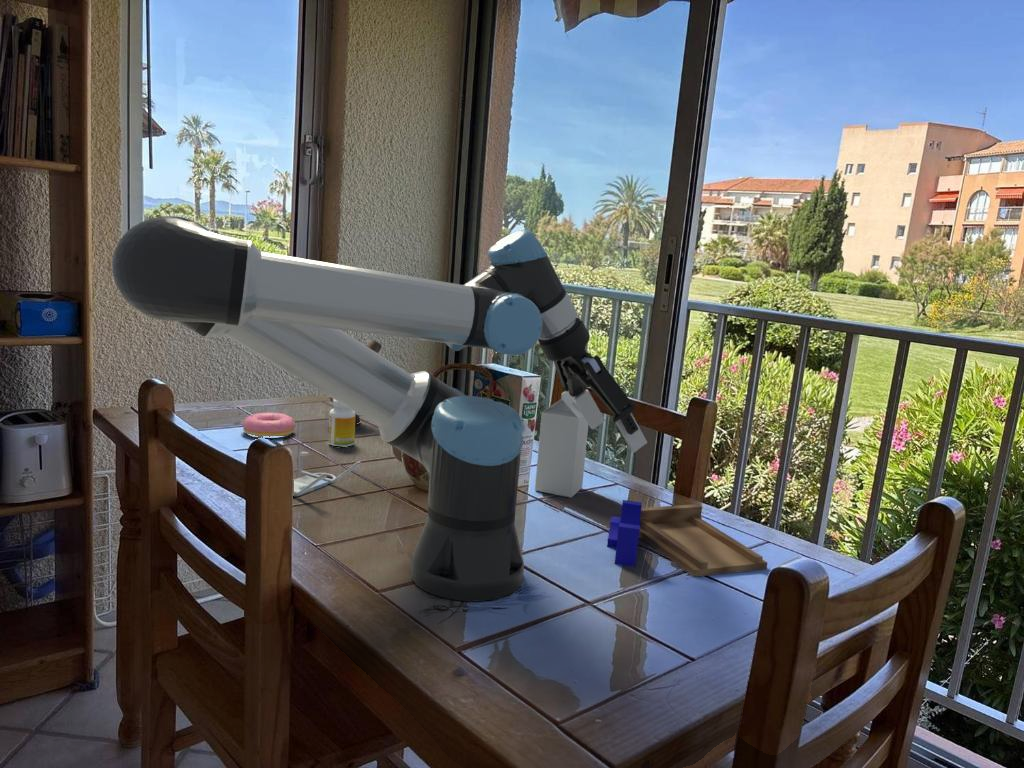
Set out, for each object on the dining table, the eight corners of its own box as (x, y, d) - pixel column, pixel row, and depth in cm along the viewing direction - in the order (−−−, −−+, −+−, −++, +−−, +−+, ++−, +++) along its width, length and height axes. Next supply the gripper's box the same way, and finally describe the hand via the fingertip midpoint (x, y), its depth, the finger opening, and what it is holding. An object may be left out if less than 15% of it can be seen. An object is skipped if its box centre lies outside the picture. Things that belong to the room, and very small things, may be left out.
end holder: (693, 576, 105) (696, 553, 104) (629, 528, 121) (631, 508, 121) (766, 568, 110) (769, 546, 109) (695, 523, 126) (697, 504, 126)
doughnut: (231, 433, 158) (231, 414, 158) (272, 425, 168) (272, 407, 167) (265, 444, 153) (266, 424, 152) (306, 434, 162) (306, 416, 161)
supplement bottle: (359, 444, 157) (361, 400, 155) (341, 449, 153) (343, 403, 151) (341, 439, 160) (343, 395, 158) (322, 444, 155) (324, 399, 154)
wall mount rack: (311, 472, 137) (312, 442, 136) (370, 488, 132) (372, 456, 131) (248, 495, 124) (248, 461, 122) (311, 513, 118) (313, 478, 117)
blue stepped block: (609, 533, 119) (613, 498, 118) (637, 538, 118) (641, 502, 117) (604, 563, 108) (608, 524, 107) (635, 568, 107) (639, 529, 106)
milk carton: (534, 491, 136) (543, 390, 133) (547, 481, 143) (555, 384, 139) (571, 498, 134) (581, 396, 130) (582, 488, 140) (592, 390, 137)
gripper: (616, 323, 101) (678, 442, 109) (544, 304, 124) (599, 404, 132) (574, 354, 100) (639, 472, 108) (508, 329, 123) (566, 428, 130)
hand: (617, 435), depth 120 cm, fingers open, 13 cm apart
